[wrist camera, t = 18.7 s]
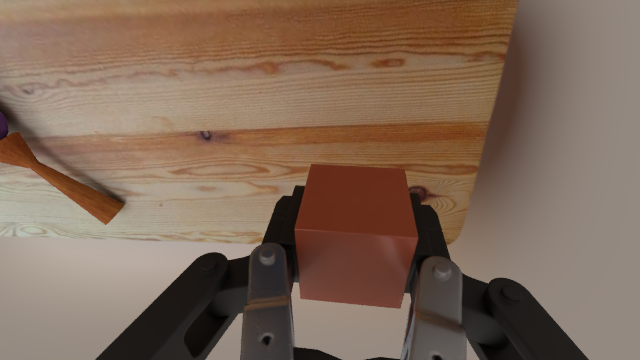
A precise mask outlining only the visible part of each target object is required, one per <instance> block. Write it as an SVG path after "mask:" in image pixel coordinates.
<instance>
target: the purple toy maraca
mask: <svg viewBox="0 0 640 360" xmlns="http://www.w3.org/2000/svg"><path fill="white" fill-rule="evenodd" d="M8 132H9V131H8V123H7V119H6V118H5V117H4V115H3V114H2V112H1V111H0V162H2V163H7V164H11V165H16V166H21V167H26V168H31V169H32V170H33V171H35V172H36V173H37V174H39V175H40V176H41V177H43V178H44V179H45V180H47V181H48V182H49V183H51V184H52V185H53V186H54V187H56V188H57V189H58V190H60V191H61V192H62V193H64V194H65V195H66V196H68V197H69V198H70V199H72V200H73V201H74V202H76V203H77V204H78V205H80V206H81V207H82V208H84V209H85V210H86V211H88V212H89V213H90V214H92V215H93V216H94V217H96V218H97V219H98V220H100V221H101V222H102V223H104V224H105V225H106V224H107V223H109V222H110V221H111V220H112V219H113V218H114V217H115V215H116V214H117V213H118V212H119V211H120V210H121V209H122V207H123V206H124V204H122V203H120V202H118V201H116V200H114V199H112V198H110V197H108V196H106V195H104V194H102V193H100V192H98V191H96V190H94V189H92V188H90V187H88V186H86V185H84V184H82V183H80V182H78V181H76V180H74V179H72V178H70V177H68V176H66V175H64V174H62V173H60V172H58V171H56V170H54V169H52V168H50V167H48V166H46V165H44V164H42V163H40V162H38V160H37V159H36V157H35V156H34V154H33V153H32V151H31V150H30V148H29V147H28V145H27V144H26V142H25V141H24V139H23V138H22V136H21V135H20V133H19V132H14V133H12V134H10V135H8V136H7V134H8Z"/></svg>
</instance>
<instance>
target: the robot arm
mask: <svg viewBox="0 0 640 360" xmlns="http://www.w3.org/2000/svg"><path fill="white" fill-rule="evenodd" d="M304 190H305V186H297V185H296V186H295V188H294V191H293V195H292V196H283V197H282V198H281V199H280V200H279V201H278V202H277V203H276V206H275V208H274V212H273V214H272V217H271V219H270V222H269V225H268V228H267V231H266V233H265V236H264V239H263V242H262V244H261V245H259V246H258V247H256V248H255V249H254V250H253V251H252V253H251V255H249V256H246V257H243V258H238V259H233V260H227V258H226V257H225V256H224V255H223V254H221V253H216V252H213V253H207V254H204V255H202V256H200V257H198V258H197V259H196V260H195V261H194V262H193V263H192V264H191V265H190V266H189V267H188V268H187V269H186V270H185V271H184V272H183V273H182V274H181V275H180V276H179V277H178V278H177V279H176V280H175V281H174V282H173V283H172V284H171V285H170V286H169V287H168V288H167V289H166V290H165V291H164V292H163V293H162V294H161V295H160V296H159V297H158V298H157V299H156V300H155V301H154V302H153V303H152V304H151V305H150V306H149V307H148V308H147V309H146V310H145V311H144V312H143V313H142V314H141V315H140V316H139V317H138V318H137V319H136V320H135V321H134V322H132V324H131V325H130V326H129V327H128V328H126V329H125V331H123V333H122V334H120V335H119V337H118V338H116V339H115V340H114V342H112V343H111V344H110V345H109V346H108V347H107V348H106V349H105V350H104V351H103V352H102V354H100V355H99V357H97V358H96V360H205V359H206V358H207V356H208V355H209V353H210V352H211V351H212V349H213V348H214V347H215V345H216V344H217V342H218V341H219V339H220V338H221V337H222V335H223V334H224V333H225V331H226V330H227V329H228V327H229V326H230V325H231V323H232V322H233V320H234V319H235V317H236V316H237V315H238V314H239V313H243V323H242V339H241V355H240V360H341V359H339V358H337V357H334V356H332V355H329V354H327V353H324V352H322V351H320V350H314V349H307V348H298V347H295V338H294V326H293V315H292V301H291V292H292V287H293V283H294V282H299V276H298V264H297V253H296V242H295V230H294V229H295V225H296V221H297V217H298V213H299V209H300V205H301V202H302V198H303V194H304ZM409 194H410V199H411V204H412V209H413V214H414V219H415V224H416V229H417V234H418V242H417V246H416V250H415V253H414V257H413V261H412V265H411V269H410V273H409V277H408V281H407V284H406V288H405V292H404V293H410V295H411V304H410V308H409V314H408V319H407V326H406V331H405V338H404V344H403V349H402V354H401V358H400V359H392V358H384V357H378V358H372V359H366V360H466V343H467V342H466V341H467V339H468V341H469V343H470V344H471V346H472V348H473V349H474V351H475V353H476V354H477V356H478V357H479V359H480V360H589V359H588V358H587V357H586V356H585V355H584V354H583V353H582V351H581V350H580V349H579V348H578V347H577V346H576V345H575V343H574V342H573V341H572V340H571V339H570V338H569V337H568V335H567V334H566V333H565V332H564V331H563V330H562V329H561V328H560V326H559V325H558V324H557V323H556V322H555V321H554V320H553V318H552V317H551V316H550V315H549V314H548V313H547V312H546V310H545V309H544V308H543V307H542V306H541V305H540V304H539V303H538V301H537V300H536V299H535V298H534V297H533V296H532V295H531V294H530V292H529V291H528V290H527V289H526V288H525V287H523V286H522V285H521V284H519V283H517V282H515V281H513V280H510V279H507V278H495V279H493V280H491V281H490V282H489V284H488V283H485V282H482V281H479V280H476V279H473V278H471V277H468V276H466V275H465V274H463V273H462V272H461V270H460V269H459V267H458V266H457V265H456V264H455V263H454V262H453V261H451V259H450V256H449V252H448V249H447V246H446V242H445V239H444V235H443V232H442V229H441V225H440V222H439V219H438V215H437V213H436V212H435V211H434V209H433V208H432V207H431V206H430V205H421V202H420V198H419V194H418V193H409ZM466 338H467V339H466Z"/></svg>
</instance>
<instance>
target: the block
mask: <svg viewBox="0 0 640 360" xmlns="http://www.w3.org/2000/svg"><path fill="white" fill-rule="evenodd" d="M294 230H295V242H296V253H297V264H298V276H299V287H300V298H301V299H309V300H319V301H328V302H338V303H348V304H358V305H368V306H378V307H388V308H401V304H402V300H403V296H404V292H405V288H406V284H407V281H408V277H409V273H410V269H411V265H412V261H413V257H414V253H415V250H416V246H417V242H418V234H417V229H416V224H415V219H414V214H413V209H412V204H411V199H410V194H409V189H408V184H407V179H406V174H405V170H404V169H394V168H375V167H356V166H337V165H318V164H311V167H310V171H309V175H308V179H307V182H306V186H305V190H304V194H303V198H302V202H301V205H300V209H299V213H298V217H297V221H296V225H295V229H294Z"/></svg>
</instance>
